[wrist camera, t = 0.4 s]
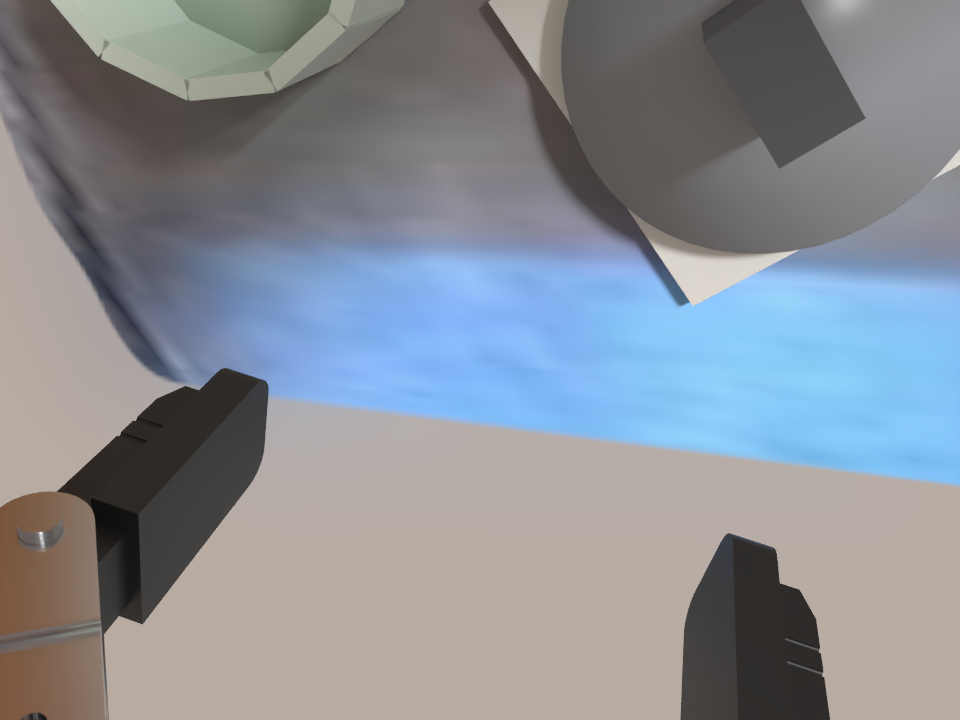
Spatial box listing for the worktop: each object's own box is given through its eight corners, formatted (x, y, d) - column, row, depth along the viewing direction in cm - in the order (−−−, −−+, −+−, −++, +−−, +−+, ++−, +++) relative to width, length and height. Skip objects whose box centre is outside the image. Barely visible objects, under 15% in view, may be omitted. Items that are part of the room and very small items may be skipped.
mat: (876, -317, 26) (879, -321, 26) (1069, 99, 31) (1076, 103, 30) (491, 0, 34) (488, 2, 33) (692, 300, 38) (692, 306, 38)
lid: (879, -321, 26) (928, -377, 21) (1075, 103, 30) (1156, 146, 25) (488, 2, 33) (450, 21, 28) (692, 306, 38) (693, 372, 32)
